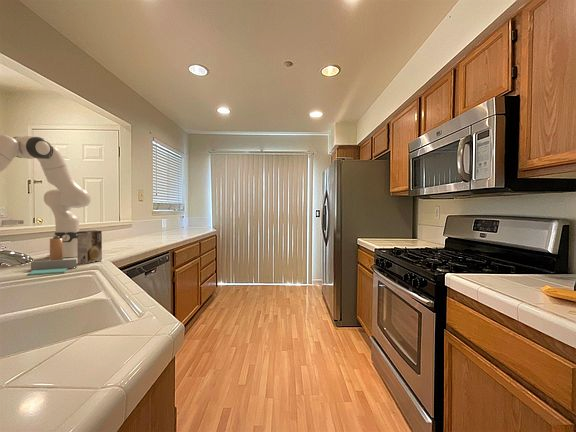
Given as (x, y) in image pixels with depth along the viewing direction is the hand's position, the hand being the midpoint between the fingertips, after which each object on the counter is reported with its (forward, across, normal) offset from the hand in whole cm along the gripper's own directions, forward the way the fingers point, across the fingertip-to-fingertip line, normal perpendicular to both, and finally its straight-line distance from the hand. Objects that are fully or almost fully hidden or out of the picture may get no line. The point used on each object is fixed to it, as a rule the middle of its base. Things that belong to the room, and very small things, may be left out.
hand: (20, 222), depth 138 cm
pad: (+13, -18, +21) cm, 30 cm away
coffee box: (+26, +5, +21) cm, 34 cm away
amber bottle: (+13, 0, +21) cm, 25 cm away
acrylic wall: (+14, -11, +21) cm, 28 cm away
